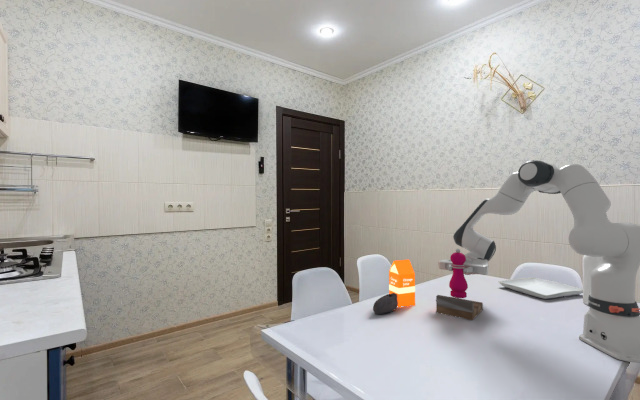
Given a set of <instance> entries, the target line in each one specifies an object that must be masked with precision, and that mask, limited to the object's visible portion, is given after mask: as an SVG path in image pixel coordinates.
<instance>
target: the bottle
mask: <svg viewBox="0 0 640 400" xmlns="http://www.w3.org/2000/svg"><path fill="white" fill-rule="evenodd" d="M601 259H602V257H592V256H586V255H583V256H582V289H583V293H582V301H583V302H582V303H583V304H584V305H587V306H589V305H588V297H589V295H590V273H591V271H592V270H593V269H594V268H596V267H597V266H598V265H599V263H600V261H601Z"/></svg>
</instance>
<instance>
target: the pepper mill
mask: <svg viewBox="0 0 640 400" xmlns="http://www.w3.org/2000/svg"><path fill="white" fill-rule="evenodd" d="M449 260H451V261H452V267H453V271H452V276H451V278H450V280H449V284H448V286H449V288H450V297H454V298H459V299H466V298H467V294H468V293H467V290H468V288H469V285H468V281H467V280H466V277H465V274H464V273H463V269H464V268H465V267H464V266H465V265H464V263H465V261H466V257H465V254H463V253H462V252H461V249H460V248H456V249H455V252H453V253H452V254H451V255H450V259H449Z"/></svg>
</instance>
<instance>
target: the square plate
mask: <svg viewBox="0 0 640 400" xmlns="http://www.w3.org/2000/svg"><path fill="white" fill-rule="evenodd" d="M498 283H499V285H501V286H503V288H507V289H510V290H513V291H515V292H519V293H522V294H525V295H529V296H533V297H535V298H536V297H537V298H540V299H543V300H544V299H545V300H547V299H554V298H556V299H557V298H562V297H563V296H564V297H570V296H576V295H580V294H583V288H579V287H576V286H572V285H569V284H566V283H565V284H564V283H563V282H559V281H558V282H557V281H552V280H548V279H543V278H538V277H523V278H514V279H512V278H511V279H506V280H505V279H504V280H500V281H498Z"/></svg>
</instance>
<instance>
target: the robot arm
mask: <svg viewBox="0 0 640 400" xmlns="http://www.w3.org/2000/svg"><path fill="white" fill-rule="evenodd" d="M536 191H537V192H539V193H541V194H542V193H543V194H548V195H551V194H552V195H557V194H561V196H562V197H563V199H564V201H565V202H566V204H567V206H568V208H569V210H570V213H571V214H572V217H573V225H574V226H573V228H572V229H570V231H569V233H568V243H569V246H570V247H571V249H572V250H573V251H574V252H575V253H577V254H579V255H582V256H584V255H586V256H592V257H602V259H601V261H600V263H599V265H598V266H597V267H596V268H594V269H593V270H592V271H591V273H590V295H589V297H588V305H587V306H588V307H589V308H588V310H587V311H586V312H585V313H584V317H583V330H582V334H579V335H578V339H579V340H581V341H582V342H584V343H586V344H588V345H589V346H591V347H593V348H595V349H597V350H599V351H601V352H603V353H605V354H607V355H609V356H610V357H611V358H612V357H613V358H614V359H616V360H620V361H624V362H630V363H635V364H640V307H639V305H638V302H637V301H636V280H637V276H638V275H637V274H638V271H639V268H640V224H637V223H633V222H632V223H631V222H611V221H610V219H609V218H608V216H607V212H608V211H609V210H610V208H611V205H612V203H611V200H610V199H609V197H608V195H607V194H606V193H605V191H604V189H603V188H602V187H601V185H600V183H599V182H598V181H597V180H596V178H595V177H594V176H593V174H591V172H590V171H589V170H588V169H587V168H585V167H584V166H583V165H581V164H577V163H571V164H570V163H569V164H567V165H564V166H562V167H560V168H559V167H558V166H556V165H554V164H551V163H548V162H544V161H542V160H536V159H533V160H527V161H526V162H523V163H522V164H521V166H519V169H518V171H516V172H512V173H511V174H510V175H509V176H508V177H507V178H506V179H505V181H504V183H502V185H501V187H500V188H499V190H498V192H496V194H495V195H494V196H492V197H490V198H485V199H484V200H482V201H481V202H480V204H479V205H478V206H477V207H476V209H474V211H472V213H471V214H470V215H469V216H468V217H467V219H466V220H465V221H463V224H462V225H461V226H459V227H458V228H457V229H456V230H455V232H454V233H453V236H452V237H453V240H454V243H455V245H456V246H459V247H461V248H463V249H466V250H467V251H468V252H467V253H465V254H464V255H465V257H466V261H465V263H464V265H465V266H464V267H465V268H464V269H463V273H464V276H471V275H482V276H488V275H489V271H490V270H489V262H490V261H491V259H493V257H494V255H495V253H496V250H497V246H496V243H495V240H493V239H492V238H489V237H487V236H486V235H484V234H482V233H480V232H478V231H476V230H475V229H474V227H475V225H476V224H477V223H478V222H479V221H480V220H481V218H482V217H483V216H484V215H487V214H493V215H500V216H511V215H515V214H517V213H519V211H520V210H522V209H521V208H522V207H523V206H524V205H525V203H526V201H527V200H528V198H529V197H530V195H531V194H532V193H533V192H536ZM438 269H439V270H445V271H449V272H453V267H452V261H451V259H440V260H439V261H438Z"/></svg>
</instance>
